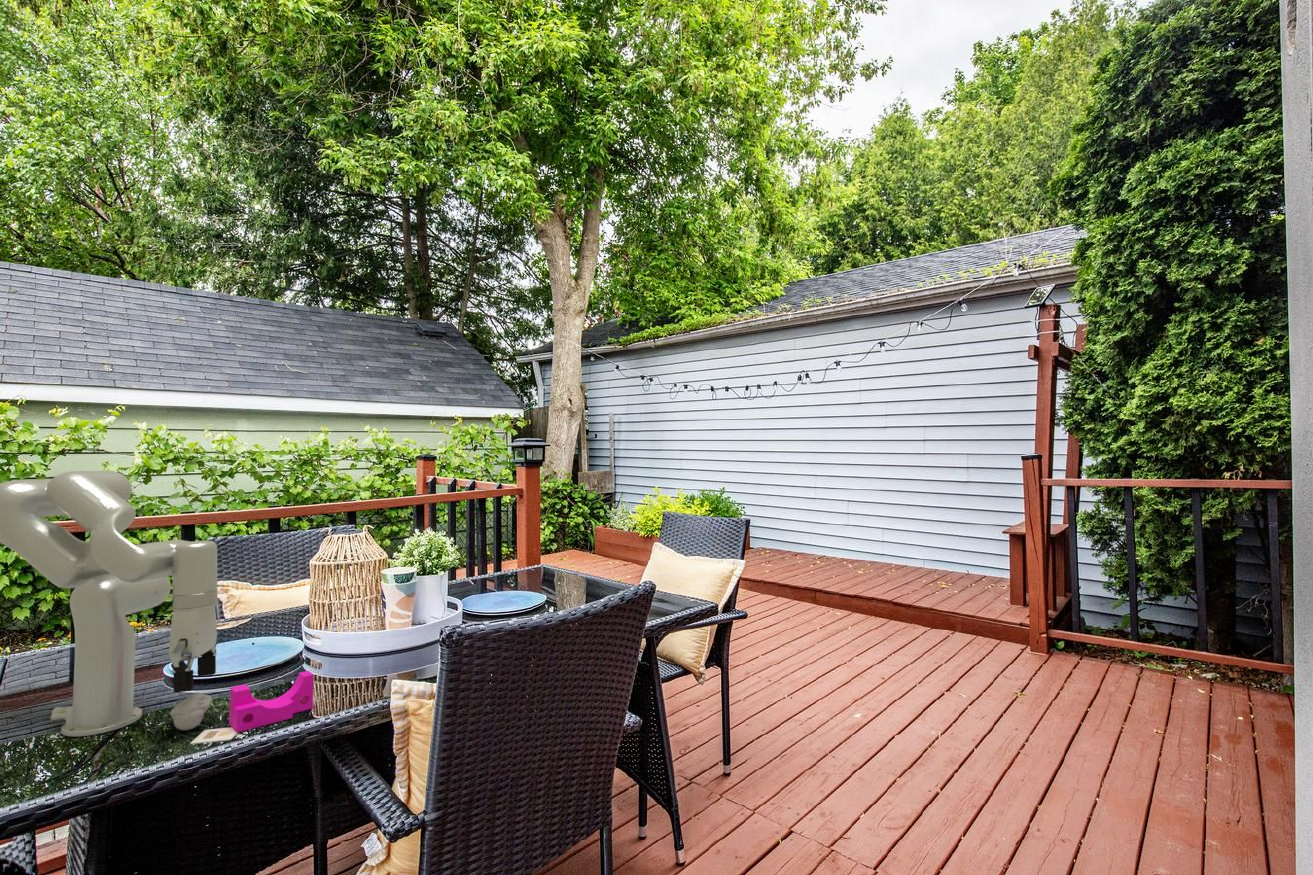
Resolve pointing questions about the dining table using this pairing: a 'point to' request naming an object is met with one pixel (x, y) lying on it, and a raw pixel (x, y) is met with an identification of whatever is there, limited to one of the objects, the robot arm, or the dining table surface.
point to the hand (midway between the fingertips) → (195, 682)
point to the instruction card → (215, 735)
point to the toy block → (269, 704)
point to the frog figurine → (190, 711)
